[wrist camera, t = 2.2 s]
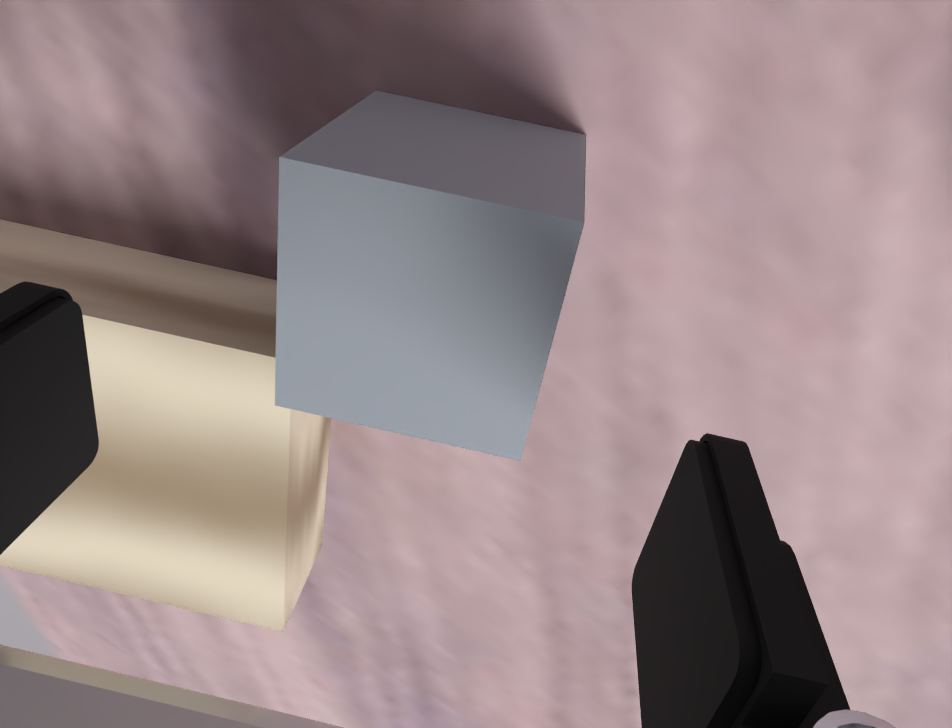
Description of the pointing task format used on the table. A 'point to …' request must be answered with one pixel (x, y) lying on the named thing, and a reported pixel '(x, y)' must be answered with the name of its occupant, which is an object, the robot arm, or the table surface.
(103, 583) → the maple block
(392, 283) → the grey block
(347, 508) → the table surface
